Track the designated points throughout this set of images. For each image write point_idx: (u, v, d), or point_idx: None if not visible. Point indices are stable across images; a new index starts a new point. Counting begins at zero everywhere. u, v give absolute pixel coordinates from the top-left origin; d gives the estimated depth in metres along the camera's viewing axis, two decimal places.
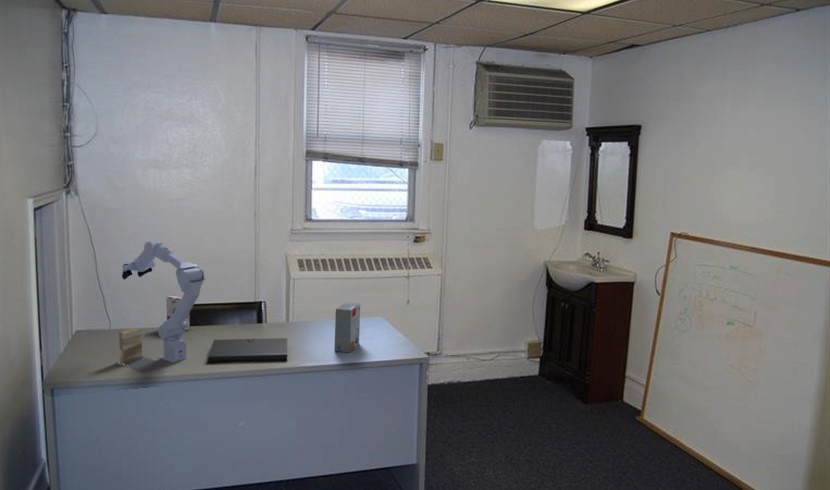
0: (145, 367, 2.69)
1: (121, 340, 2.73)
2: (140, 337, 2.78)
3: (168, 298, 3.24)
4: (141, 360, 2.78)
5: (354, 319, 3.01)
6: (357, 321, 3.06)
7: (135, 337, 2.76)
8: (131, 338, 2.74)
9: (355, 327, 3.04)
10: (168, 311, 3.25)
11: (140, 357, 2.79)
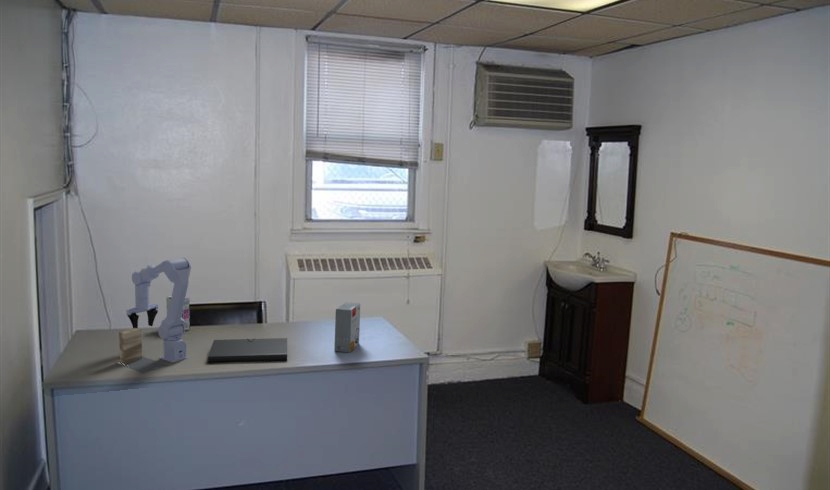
0: (145, 367, 2.69)
1: (121, 340, 2.73)
2: (140, 337, 2.78)
3: (168, 298, 3.24)
4: (141, 360, 2.78)
5: (354, 319, 3.01)
6: (357, 321, 3.06)
7: (135, 337, 2.76)
8: (131, 338, 2.74)
9: (355, 327, 3.04)
10: None
11: (140, 357, 2.79)
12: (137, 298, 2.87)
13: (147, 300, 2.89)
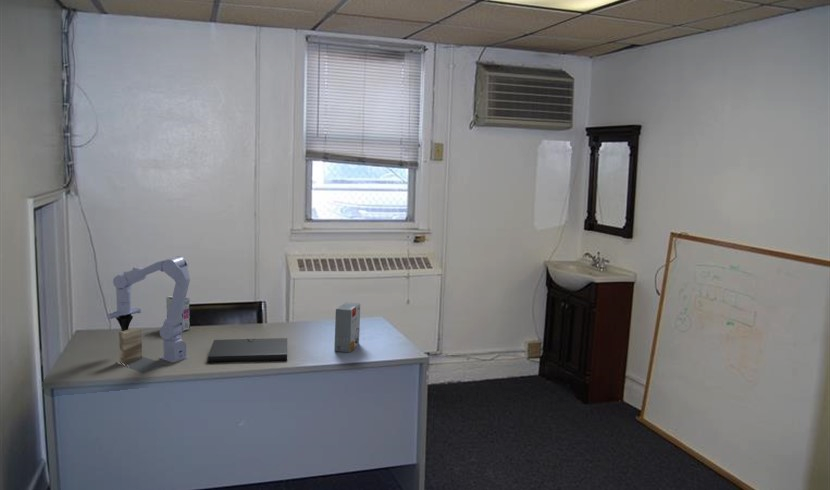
0: (145, 367, 2.69)
1: (121, 340, 2.73)
2: (140, 337, 2.78)
3: (168, 298, 3.24)
4: (141, 360, 2.78)
5: (354, 319, 3.01)
6: (357, 321, 3.06)
7: (135, 337, 2.76)
8: (131, 338, 2.74)
9: (355, 327, 3.04)
10: (168, 311, 3.25)
11: (140, 357, 2.79)
12: (121, 302, 2.80)
13: (129, 304, 2.82)
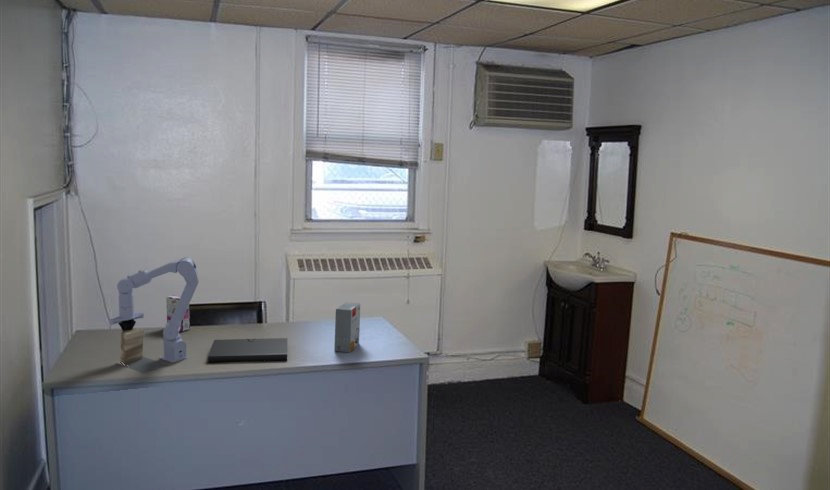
0: (145, 367, 2.69)
1: (123, 340, 2.72)
2: (141, 338, 2.77)
3: (168, 298, 3.24)
4: (141, 360, 2.78)
5: (354, 319, 3.01)
6: (357, 321, 3.06)
7: (137, 338, 2.75)
8: (133, 339, 2.74)
9: (355, 327, 3.04)
10: (168, 311, 3.25)
11: (140, 357, 2.79)
12: (126, 307, 2.73)
13: (131, 309, 2.74)
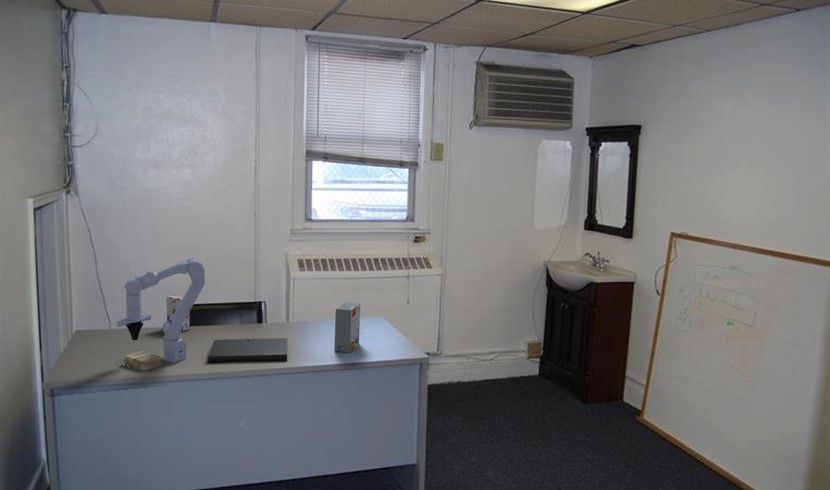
0: None
1: (139, 363, 2.68)
2: None
3: (168, 298, 3.24)
4: None
5: (354, 319, 3.01)
6: (357, 321, 3.06)
7: None
8: None
9: (355, 327, 3.04)
10: (168, 311, 3.25)
11: None
12: (136, 308, 2.70)
13: (139, 311, 2.71)
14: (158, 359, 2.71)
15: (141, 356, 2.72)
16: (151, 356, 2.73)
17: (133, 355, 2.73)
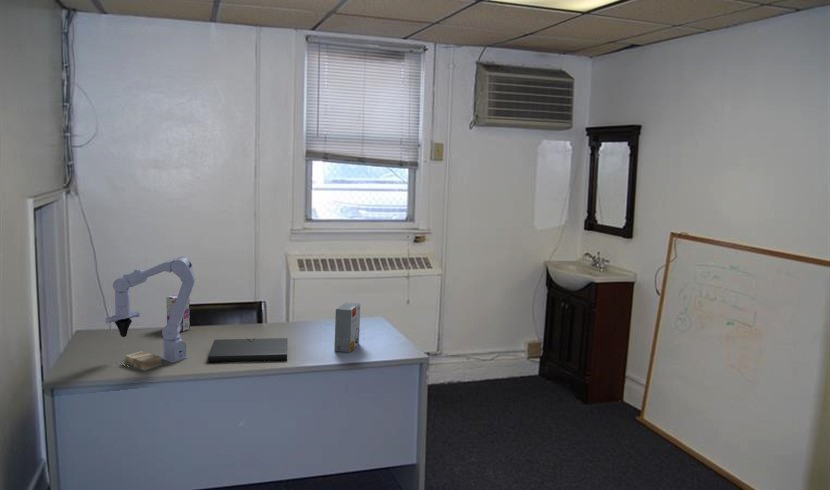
0: None
1: (139, 363, 2.68)
2: None
3: (168, 298, 3.24)
4: None
5: (354, 319, 3.01)
6: (357, 321, 3.06)
7: None
8: None
9: (355, 327, 3.04)
10: (168, 311, 3.25)
11: None
12: (122, 306, 2.74)
13: (127, 307, 2.76)
14: (158, 359, 2.71)
15: (141, 356, 2.72)
16: (151, 356, 2.73)
17: (133, 355, 2.73)
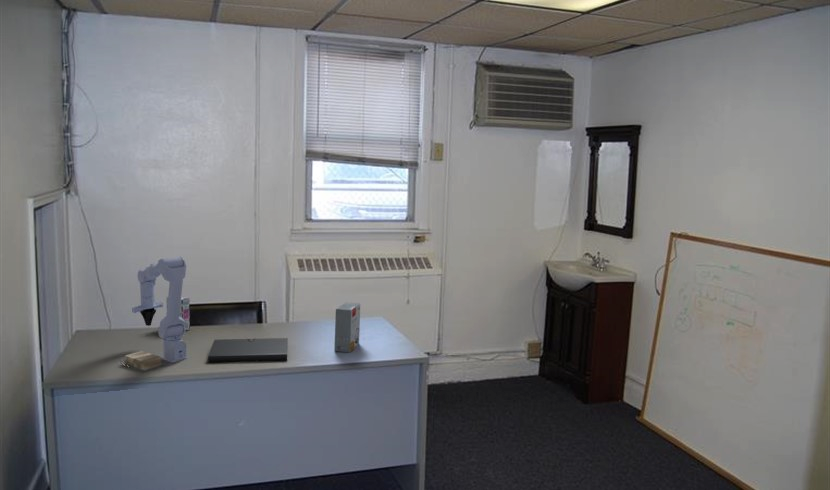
0: None
1: (139, 363, 2.68)
2: None
3: None
4: None
5: (354, 319, 3.01)
6: (357, 321, 3.06)
7: None
8: None
9: (355, 327, 3.04)
10: None
11: None
12: (141, 296, 2.92)
13: (152, 298, 2.94)
14: (158, 359, 2.71)
15: (141, 356, 2.72)
16: (151, 356, 2.73)
17: (133, 355, 2.73)
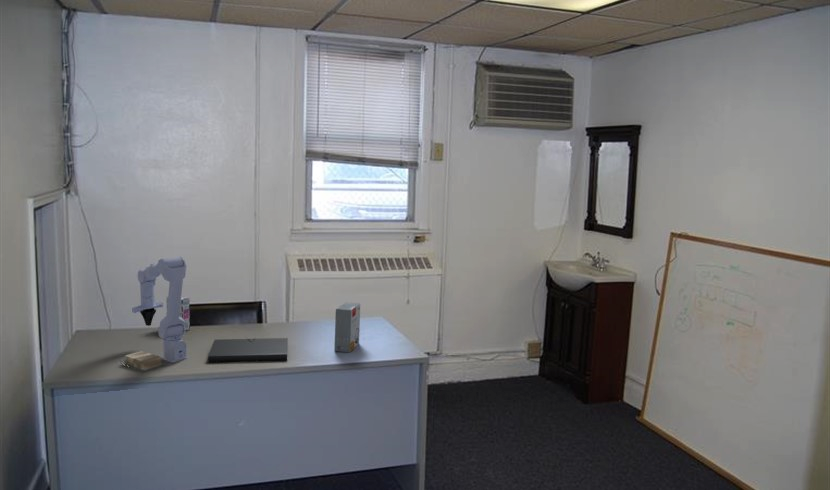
0: None
1: (139, 363, 2.68)
2: None
3: None
4: None
5: (354, 319, 3.01)
6: (357, 321, 3.06)
7: None
8: None
9: (355, 327, 3.04)
10: None
11: None
12: (141, 296, 2.92)
13: (152, 298, 2.94)
14: (158, 359, 2.71)
15: (141, 356, 2.72)
16: (151, 356, 2.73)
17: (133, 355, 2.73)
